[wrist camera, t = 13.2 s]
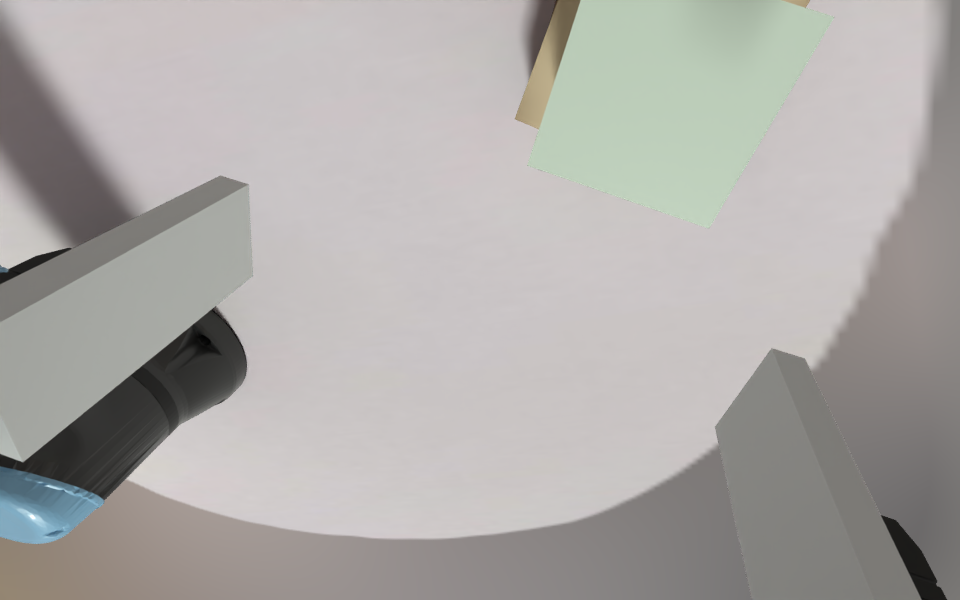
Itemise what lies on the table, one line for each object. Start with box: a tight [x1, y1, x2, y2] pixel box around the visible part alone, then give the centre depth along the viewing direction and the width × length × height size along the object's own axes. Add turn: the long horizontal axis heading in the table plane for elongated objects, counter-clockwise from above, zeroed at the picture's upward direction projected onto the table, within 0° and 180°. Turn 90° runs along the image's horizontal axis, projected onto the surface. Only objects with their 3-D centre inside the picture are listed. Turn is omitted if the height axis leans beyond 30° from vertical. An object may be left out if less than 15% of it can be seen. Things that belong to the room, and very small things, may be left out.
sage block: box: [527, 0, 834, 228], centre depth 20 cm, size 7×7×9 cm
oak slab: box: [515, 0, 810, 129], centre depth 26 cm, size 10×10×5 cm
